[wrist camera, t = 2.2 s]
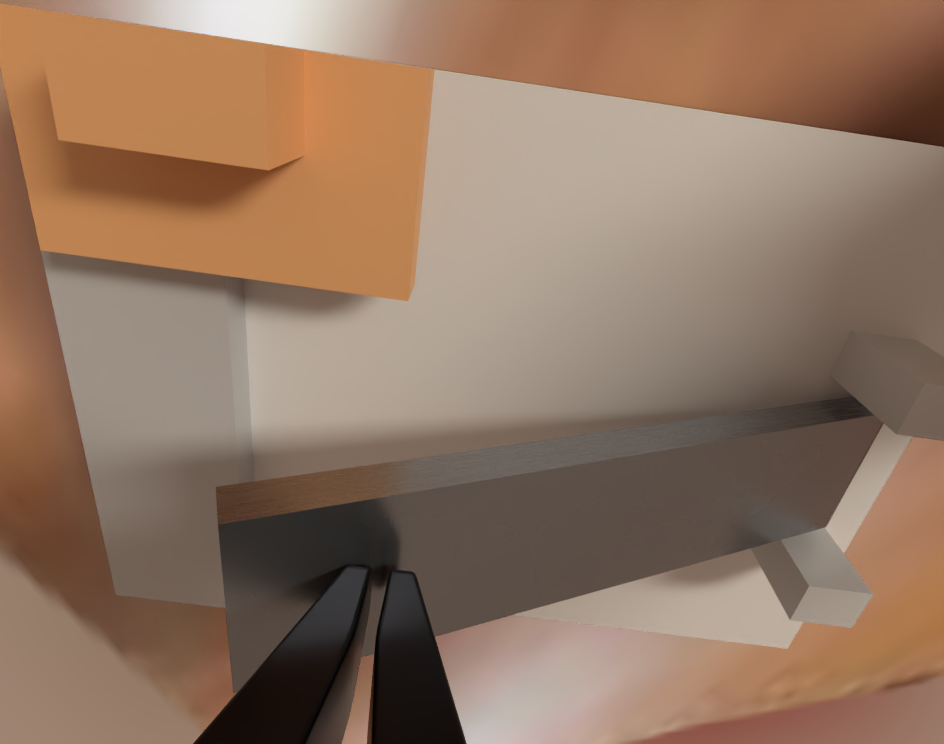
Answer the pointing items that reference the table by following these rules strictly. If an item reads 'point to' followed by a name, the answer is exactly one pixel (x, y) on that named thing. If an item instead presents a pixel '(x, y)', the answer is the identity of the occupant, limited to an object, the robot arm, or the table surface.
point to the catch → (218, 152)
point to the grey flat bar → (532, 517)
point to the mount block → (538, 336)
